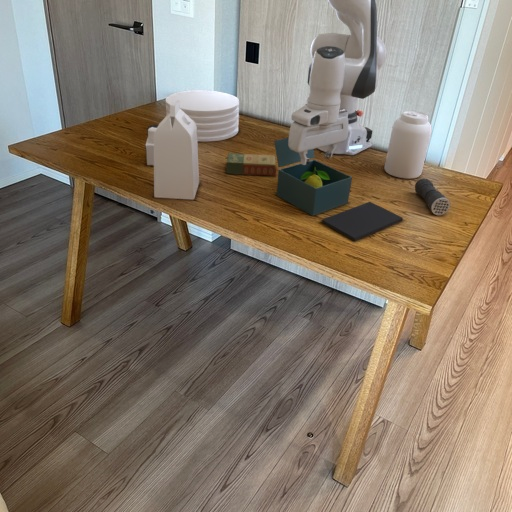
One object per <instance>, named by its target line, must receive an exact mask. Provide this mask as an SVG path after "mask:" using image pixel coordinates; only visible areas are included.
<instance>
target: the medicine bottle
mask: <svg viewBox="0 0 512 512" xmlns="http://www.w3.org/2000/svg"><path fill="white" fill-rule="evenodd" d="M158 125H159V124H151V125H149V126H148V127H147V128H146V133H147V134H146V135H147V138H146V141H145V145H144V147H145V159H146V160H145V161H146V165H147V166H154V132H155V130H156V129H157V127H158Z"/></svg>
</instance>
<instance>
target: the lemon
mask: <svg viewBox="0 0 512 512" xmlns="http://www.w3.org/2000/svg"><path fill="white" fill-rule="evenodd" d="M315 170H316V169H315ZM315 170H314V174H313V175H311V174H312V173H313V172H309V171H308V172H305V173H304V174H303V175H302V176H301V179H300V180H304V179H306V180H305V183H307V184H309V185H311V186H312V187H314V188H319V187H322V181H321V179H320V177H321V178H322V179H325V180H330V178H329V176H328V174H327V173H326V172H324V171H317V170H316V171H317V173H318V175H319V176H317V175H316V174H315Z"/></svg>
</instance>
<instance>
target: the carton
mask: <svg viewBox="0 0 512 512" xmlns="http://www.w3.org/2000/svg"><path fill="white" fill-rule="evenodd" d="M276 161H277V155H276V154H255V153H236V152H228V154H227V158H226V161H225V162H226V164H225V173H226V174H230V175H231V174H234V175H249V176H250V175H251V176H252V175H253V176H271V177H272V176H273V177H274V176H276V163H277V162H276Z"/></svg>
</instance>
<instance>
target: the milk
mask: <svg viewBox="0 0 512 512" xmlns="http://www.w3.org/2000/svg"><path fill="white" fill-rule="evenodd" d="M157 125H158V127H157V129H156V130H155V132H154V165H153V198H159V199H176V200H177V199H178V200H191V201H193V200H195V197H196V194H197V191H198V188H199V185H200V171H199V167H200V166H199V149H198V148H199V147H198V146H199V145H198V141H197V127H196V124H195V122H194V121H193V120H192V119H191V118H190V117H189V116H188V115H187V114H186V113H184V112H183V111H182V110H181V109H180V106H179V100H176V99H174V100H173V101H172V103H171V104H170V113H169V114H168V115H167V116H166V115H165V117H164V118H163V119H161V121H160V122H159V124H157Z"/></svg>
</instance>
